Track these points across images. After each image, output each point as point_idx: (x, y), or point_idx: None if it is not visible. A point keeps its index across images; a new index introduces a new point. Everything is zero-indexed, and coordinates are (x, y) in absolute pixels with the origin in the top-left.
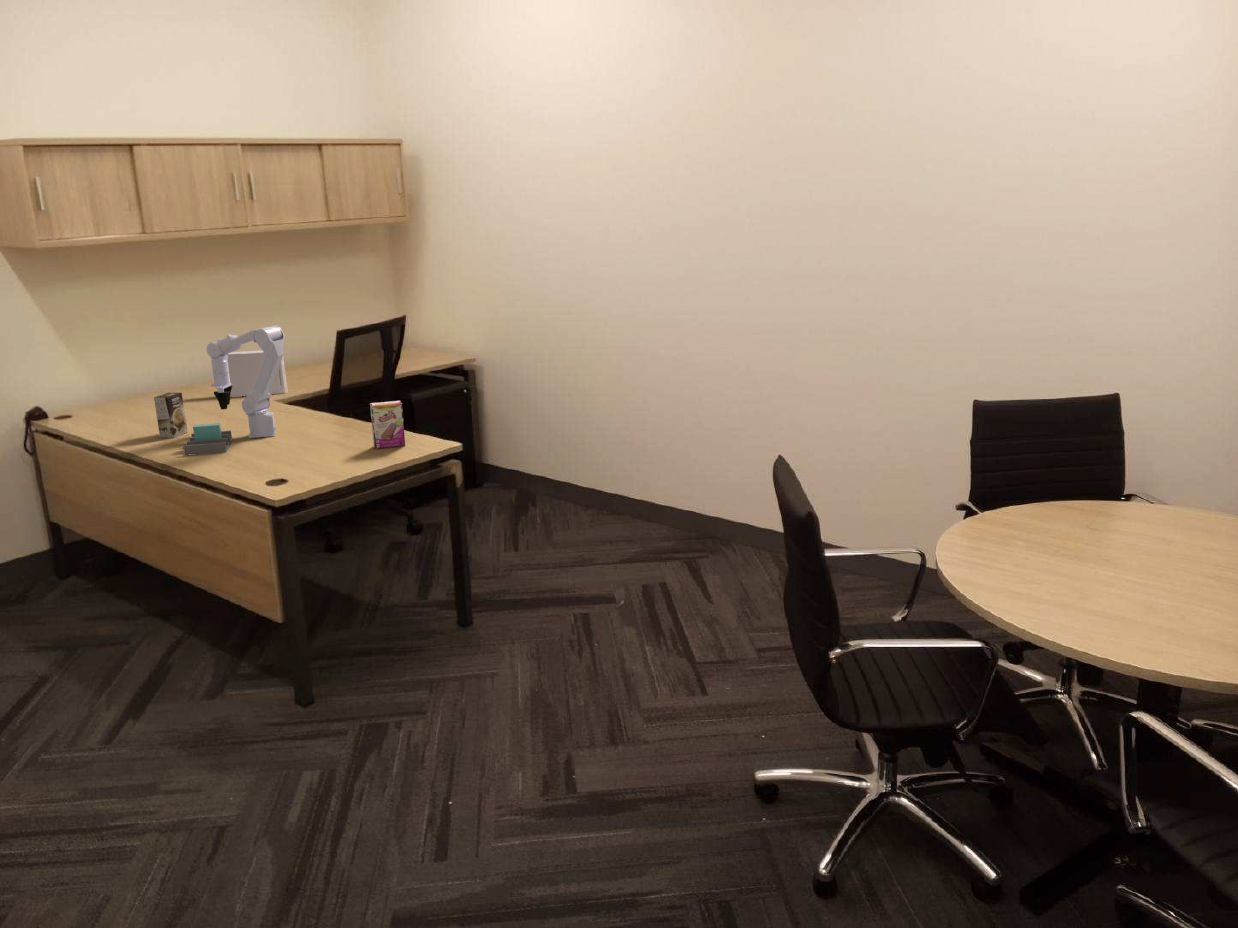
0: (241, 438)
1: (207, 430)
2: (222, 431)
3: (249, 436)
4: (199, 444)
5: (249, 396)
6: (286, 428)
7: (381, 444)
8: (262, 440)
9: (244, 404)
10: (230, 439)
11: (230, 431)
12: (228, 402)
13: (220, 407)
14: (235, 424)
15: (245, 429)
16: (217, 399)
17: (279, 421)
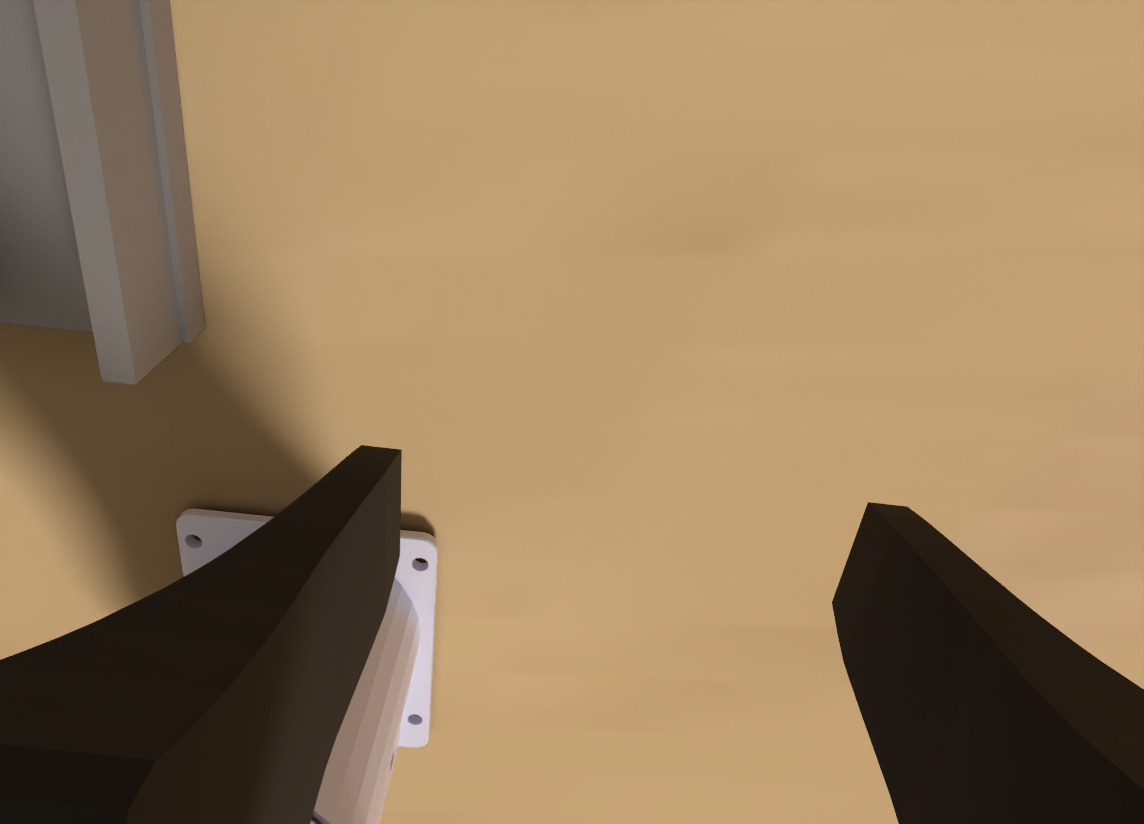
0: (221, 432)
1: None
2: (91, 263)
3: (204, 526)
4: None
5: None
6: (523, 807)
7: None
8: (69, 619)
9: None
10: (25, 324)
11: (104, 374)
12: (847, 634)
13: (342, 463)
14: (1081, 378)
15: (695, 484)
16: (149, 596)
17: (874, 778)
